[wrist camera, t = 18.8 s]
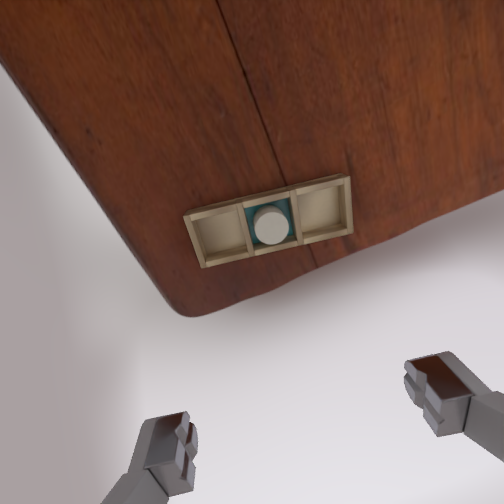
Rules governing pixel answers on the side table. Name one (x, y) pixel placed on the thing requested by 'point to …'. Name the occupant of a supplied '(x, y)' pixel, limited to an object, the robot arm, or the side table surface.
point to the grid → (292, 206)
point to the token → (270, 224)
